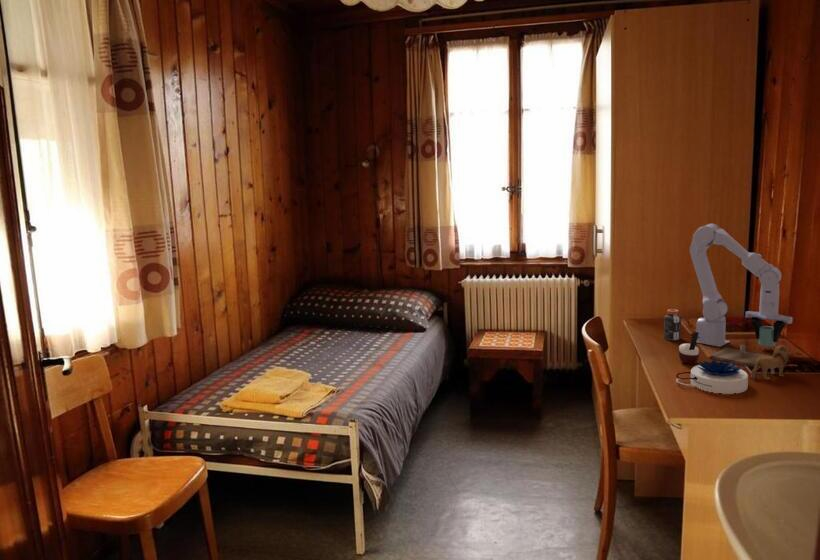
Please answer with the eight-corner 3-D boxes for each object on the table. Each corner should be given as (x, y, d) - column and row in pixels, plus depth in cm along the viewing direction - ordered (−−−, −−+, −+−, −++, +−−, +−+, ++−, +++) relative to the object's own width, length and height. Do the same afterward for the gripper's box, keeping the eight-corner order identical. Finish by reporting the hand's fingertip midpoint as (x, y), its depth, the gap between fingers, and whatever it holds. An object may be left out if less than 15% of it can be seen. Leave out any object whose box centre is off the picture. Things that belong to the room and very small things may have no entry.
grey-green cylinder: (756, 344, 215) (757, 328, 214) (762, 341, 218) (763, 325, 217) (771, 347, 211) (772, 330, 210) (777, 344, 214) (778, 327, 213)
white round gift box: (738, 355, 191) (670, 355, 195) (756, 372, 176) (682, 372, 180) (737, 376, 192) (670, 376, 196) (755, 395, 177) (682, 394, 181)
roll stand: (710, 358, 210) (710, 344, 209) (726, 350, 217) (726, 336, 216) (759, 368, 198) (760, 353, 197) (774, 359, 205) (775, 345, 204)
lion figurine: (775, 369, 196) (777, 342, 194) (792, 374, 191) (793, 346, 190) (745, 378, 190) (747, 351, 188) (762, 383, 185) (763, 355, 183)
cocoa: (679, 357, 212) (680, 324, 210) (699, 359, 209) (700, 325, 207) (677, 366, 204) (678, 331, 202) (698, 368, 201) (699, 332, 199)
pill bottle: (682, 340, 231) (683, 311, 229) (665, 340, 232) (666, 311, 230) (678, 336, 237) (679, 308, 235) (662, 336, 238) (663, 308, 236)
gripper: (742, 301, 215) (740, 338, 217) (787, 307, 204) (785, 346, 206) (750, 298, 219) (749, 334, 222) (795, 303, 208) (793, 341, 211)
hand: (767, 340), depth 214 cm, fingers closed on grey-green cylinder, 5 cm apart
